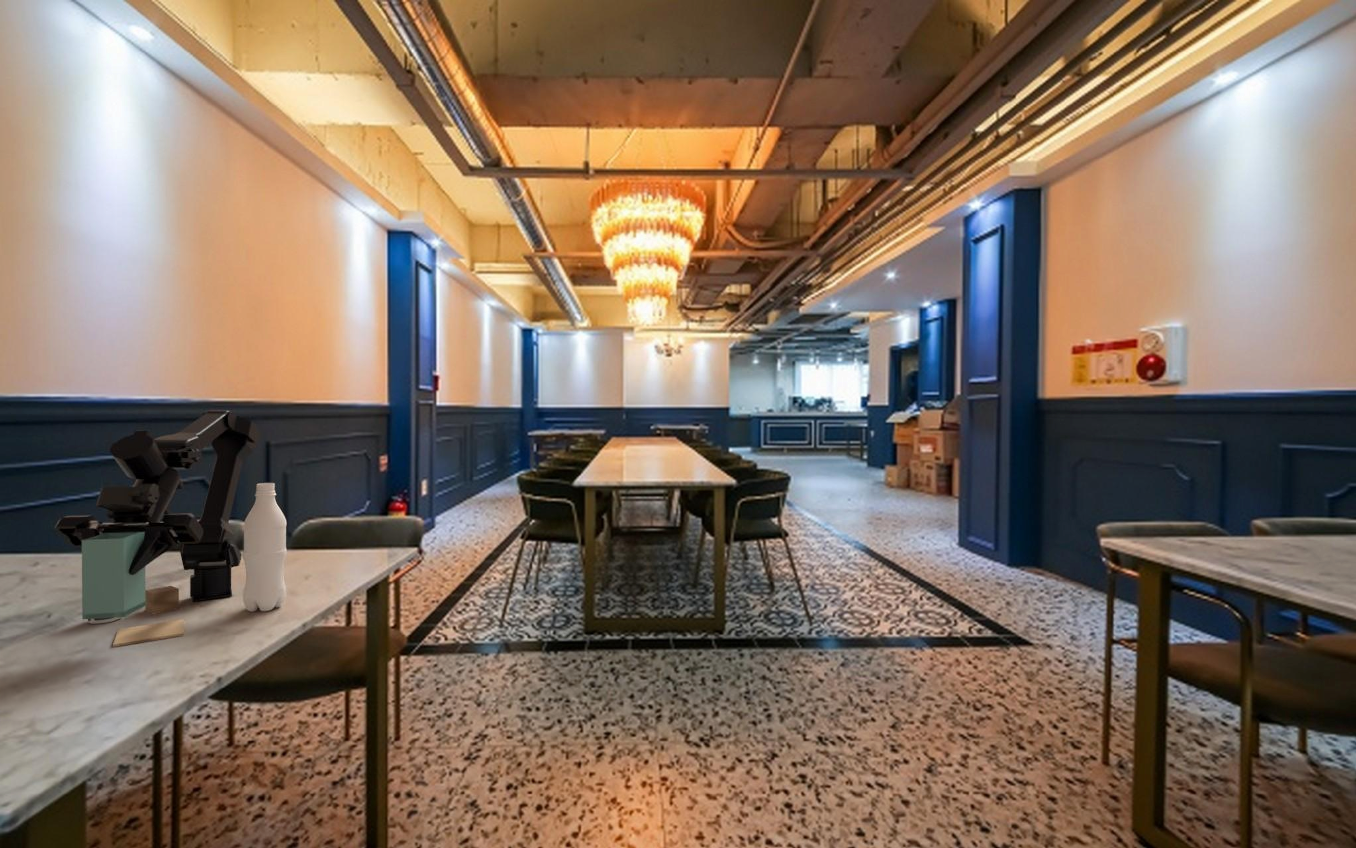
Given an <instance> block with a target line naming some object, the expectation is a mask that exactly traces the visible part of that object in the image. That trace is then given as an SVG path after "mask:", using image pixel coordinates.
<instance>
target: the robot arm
mask: <svg viewBox="0 0 1356 848" xmlns="http://www.w3.org/2000/svg"><path fill="white" fill-rule="evenodd" d="M260 437H261V433H260V429H259V427H257V426H256V424H255V423H254V422H253V421H251V420H250V419H246V418H244V417H241V416H238V415H237V414H236V413H235V412H234V411H230V410H229V409H228V410H226V409H223V410H219V409H218V410H217V409H212V410H211V409H210V410H206V411H204V412H203V413H202V415H201V416H200V417H199V418H197V419H196V420H194V421H193V422H192V423H190V424H189V425H188V426H186V427H184V428H183V429H181V431H179V432H176V433H173V434H166V435H162V436H159V437H156V438H154V437H153V434H152V432H151V431H150V430H135V431H134V432H133V434H130V435H127V436H124V437H122V438H120V439H119V440H117V441H115V442H113V443H112V444H111V446H110V448H109V453H110V455H111V456H112V457H113V459H114V460H115V462H116V463H117V464H118V466H119V467H120V468H121V470H122V471H123V472H124V473H125V475H126V476H127V477H128V478H130V479H134V480H135V482H134V484H133V486H129V485H128V486H127V485H125V486H124V485H123V486H119V485H118V486H115V485H113V486H102V487H100V492H99V494H98V497H97V501H96V504H95V506H96V507H97V508H102V509H104V510H107V513H106V516H107V518H108V519H113V521H112V522H101V521H99V520H97V519H96V518H95V517H94V516H93V515H90V514H89V515H66V516H63V517H61V518H60V519H59V520H58V521H57V523H56V524H55V526H54V528H53V530H54V531H55V532H56V533H57V534H58V535H59V536H60V537H62V539H63V541H65V542H66V543H67V544H68V545H69V546H70V547H74V548H82V540H85V539H88V538H91V537H94V536H98V535H101V534H104V533H127V532H145V534H144V540H143V543H142V544H141V546H140V548H139V550H138V552H137V554H136V556H135V558H134V559H133V561H132V563H131V566H130V569H129V573H130V574H131V575H134V574H136V573H137V572H138V571H140V570H141V569H142V568H144V567H145V568H146V566H148V565H149V564H150V563H151V562H153V561H154V560H156V559H157V558H159V557H161V556H162V555H164V554H165V553H167V552H168V551H169V550H171V549H174V548H175V549H177V548H178V547H179V546H180V549H179V550H180V551H179V553H180V558H181V562H182V566H183V571H189V570H193V574H191V575H190V576H189V597H190V598H192V601H193V602H199V601H208V600H213V599H219V598H227V597H228V598H229V597H232V596H233V591H232V568H235V567H239V566H240V564H241V560H242V552H241V550H240V548H239V547H238V545H237V544H236V543H235V541H234V540H235V534H234V532H233V529H232V527H231V525H230V524H229V522H230V517H231V514H232V513H231V512H232V509H233V504H234V501H235V496H236V492H237V487H238V482H239V479H240V474H241V471H242V468H243V467H242V466H243V462H244V461H245V460H246V459H248V458H249V457H250V456H251V455H252V454H253V453H254V451H255V449H256V446H257V444H258V442H259V441H260ZM209 444H210V445H211V447H212V449H213V451H214V453H215V455H216V459H215V463H214V466H213V470H212V474H211V478H210V482H209V486H208V490H207V494H206V499H205V502H204V505H203V509H202V514H201V517H200V519H199V520H198V519H197V518H196V516H195V515H194V514H193V513H191V512H190V513H187V512H186V513H185V512H184V513H183V512H182V513H180V512H179V513H170V512H171V508H170V506H169V503H170V502H171V500H172V498H173V496H174V494H175V492H176V491H182V490H184V483H183V480H181V479H182V476H181V475H180V473H179V472H178V471H177V470H192V469H194V468H195V467H196V465H198V463H199V462H200V461H201V460H202V458H203V453H202V450H203V449H205V448H206V446H208V445H209Z"/></svg>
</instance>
